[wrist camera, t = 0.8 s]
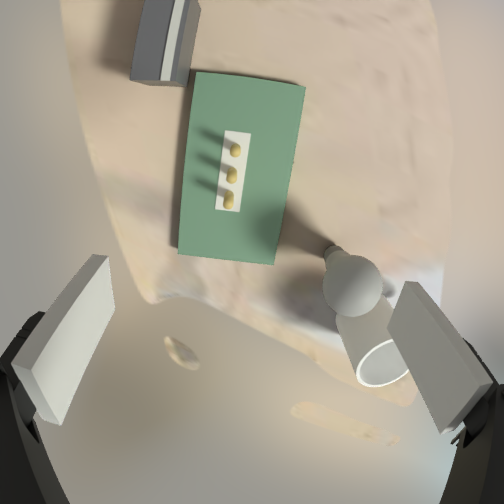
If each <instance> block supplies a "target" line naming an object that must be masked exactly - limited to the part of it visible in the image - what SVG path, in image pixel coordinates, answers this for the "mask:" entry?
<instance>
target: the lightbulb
mask: <svg viewBox="0 0 504 504" xmlns="http://www.w3.org/2000/svg"><path fill="white" fill-rule="evenodd" d="M324 260H325V263H326V269H327V271H326V273H325V275H324V278H323V284H322V289H323V296H324V298H325V300H326V302H327V304H328V305H329V306H330V307H331V308H332V309H333V310H334V311H335V312H337V313H338V314H341V315H343V316H348V317H355V316H360V315H363V314H365V313H367V312H369V311H370V310H371V309H372V308H374V306H375V305H376V304H377V303H378V301H379V299H380V296H381V293H382V288H383V285H382V278H381V274H380V272H379V270H378V268H377V267H376V266H375V264H373V263H372V262H371V261H370V260H368V259H366V258H364V257H362V256H356V255H350V254H349V253H347V252H346V251H344V250H343V249H342V248H341V247H339V246H336V245H334V246H330V247H329V248H327V249H326V251H325V253H324Z"/></svg>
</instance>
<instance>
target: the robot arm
mask: <svg viewBox="0 0 504 504" xmlns="http://www.w3.org/2000/svg"><path fill="white" fill-rule="evenodd" d="M114 310H115V304H114V298H113V291H112V283H111V275H110V266H109V256H104V255H95V254H93V255H92V256H91V257H90V258H89V259H88V260H87V262H86V263H85V264H84V265H83V266H82V268H81V269H80V270H79V271H78V272H77V274H76V275H75V276H74V277H73V278H72V280H71V281H70V282H69V283H68V285H67V286H66V287H65V289H64V290H63V291H62V292H61V294H60V295H59V296H58V297H57V299H56V300H55V302H54V303H53V304H52V305H51V307H50V308H49V309H48V311H47V312H46V313H45V312H40V311H39V312H37V313H36V314H34V315H33V316H31V317H30V318H29V319H28V320H27V321H26V323H25V324H24V325H23V327H22V330H20V331H19V332H18V333H17V335H16V337H14V339H13V340H12V342H11V343H10V345H9V346H8V347H7V349H6V350H5V352H4V353H3V355H2V356H1V357H0V504H70V503H69V501H68V499H67V497H66V495H65V493H64V491H63V489H62V487H61V485H60V483H59V481H58V478H57V476H56V474H55V472H54V470H53V467H52V465H51V462H50V460H49V458H48V455H47V453H46V450H45V447H44V445H43V442H42V439H41V437H40V434H39V431H38V428H37V425H36V422H35V421H34V419H33V416H34V414H35V412H36V410H37V411H38V413H39V415H40V416H41V418H42V419H43V420H46V421H48V422H51V423H55V424H57V425H60V426H61V425H62V423H63V420H64V417H65V415H66V413H67V410H68V408H69V405H70V403H71V401H72V398H73V396H74V394H75V391H76V389H77V387H78V385H79V382H80V380H81V378H82V376H83V373H84V371H85V369H86V367H87V365H88V363H89V361H90V359H91V356H92V354H93V352H94V350H95V348H96V346H97V344H98V342H99V340H100V338H101V336H102V334H103V332H104V330H105V328H106V326H107V324H108V322H109V320H110V318H111V316H112V314H113V312H114ZM387 330H388V332H389V334H390V335H391V337H392V339H393V341H394V343H395V344H396V346H397V348H398V350H399V352H400V354H401V356H402V358H403V359H404V361H405V363H406V365H407V367H408V369H409V371H410V373H411V375H412V377H413V379H414V381H415V383H416V385H417V387H418V389H419V391H420V393H421V395H422V397H423V399H424V401H425V403H426V405H427V407H428V409H429V411H430V413H431V416H432V418H433V420H434V422H435V424H436V426H437V428H438V430H439V433H440V434H443V433H447V432H450V431H454V430H455V429H456V428H457V427H458V426H459V424H460V423H461V422H462V421H463V422H464V424H465V427H464V428H463V429H462V430H461V431H460V433H459V434H458V435H457V436H456V437H455V438H454V439H453V440H452V442H451V444H454V443H455V442H456V440H458V439H459V442H458V443H457V445H456V446H457V450H456V454H455V457H454V461H453V465H452V468H451V472H450V474H449V478H448V481H447V484H446V487H445V490H444V492H443V495H442V498H441V501H440V503H439V504H504V384H500V385H499V384H498V382H497V381H496V379H495V378H494V376H493V375H492V374H491V372H490V371H489V369H488V368H487V366H486V365H485V363H484V362H482V359H481V358H480V357H479V355H477V352H476V351H475V350H474V348H473V347H472V345H471V344H470V343H468V342H467V341H466V340H464V338H462V337H461V336H460V334H459V333H458V332H457V330H456V329H455V328H454V326H453V325H452V324H451V322H450V321H449V320H448V318H447V317H446V316H445V315H444V313H443V312H442V311H441V310H440V308H439V307H438V306H437V304H436V303H435V302H434V301H433V300H432V298H431V297H430V296H429V295H428V293H427V292H426V291H425V290H424V289H423V287H422V286H421V285H420V284H419V283H418V282H410V281H405V283H404V286H403V289H402V291H401V294H400V296H399V299H398V302H397V304H396V306H395V309H394V311H393V314H392V316H391V319H390V321H389V323H388V326H387Z"/></svg>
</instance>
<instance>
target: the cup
mask: <svg viewBox="0 0 504 504" xmlns="http://www.w3.org/2000/svg"><path fill="white" fill-rule="evenodd" d="M393 311H394V308H393V307H392V305H391V304H390V302H389V301H388V300H387V298H386V297H385V296H384V295H383V294H381V296H380V299H379V301H378V303H377V304H376V305H375V306H374V308H372V309H371V310H370V311H369V312H367V313H365V314H363V315H360V316H355V317H348V316H343V315H341V314H338V313H337V315H336V326H337V329H338V331H339V334H340V336H341V339H342V341H343V344H344V346H345V349H346V351H347V354H348V356H349V359H350V361H351V364H352V367H353V369H354V372H355V374H356V377H357V379H358V381H359V382H360V383H361V384H362V385H364V386H368V387H380V386H384V385H387V384H390V383H392V382H394V381H396V380H398V379H400V378H401V377H402V376H404V375H405V374H406V373H407V372H408V371H409V369H408V367H407V365H406V363H405V361H404V359H403V358H402V356H401V354H400V352H399V350H398V348H397V346H396V344H395V343H394V341H393V339H392V337H391V335H390V334H389V332H388V330H387V326H388V323H389V321H390V319H391V316H392V314H393Z"/></svg>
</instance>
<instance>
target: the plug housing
mask: <svg viewBox="0 0 504 504" xmlns="http://www.w3.org/2000/svg"><path fill="white" fill-rule="evenodd" d="M200 12H201V8H200V6H199V3H198V0H145V1H144V6H143V10H142V14H141V19H140V23H139V28H138V33H137V38H136V44H135V49H134V55H133V61H132V67H131V74H130V80H131V81H134V82H138V83H142V84H145V85H149V86H176V87H187V86H188V79H189V72H190V66H191V60H192V54H193V49H194V43H195V37H196V32H197V27H198V22H199V17H200Z"/></svg>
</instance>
